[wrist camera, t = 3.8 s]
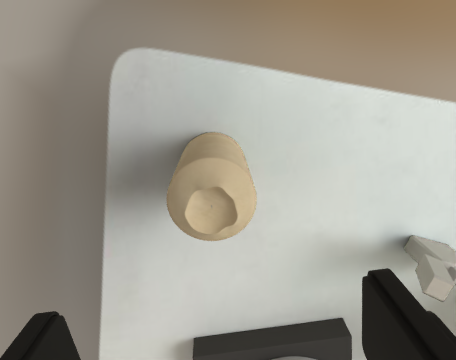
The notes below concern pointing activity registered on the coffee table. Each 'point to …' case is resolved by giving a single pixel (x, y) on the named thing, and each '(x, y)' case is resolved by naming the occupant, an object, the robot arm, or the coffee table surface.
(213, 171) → the candle
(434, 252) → the lighter
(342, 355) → the scale
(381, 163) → the coffee table surface
